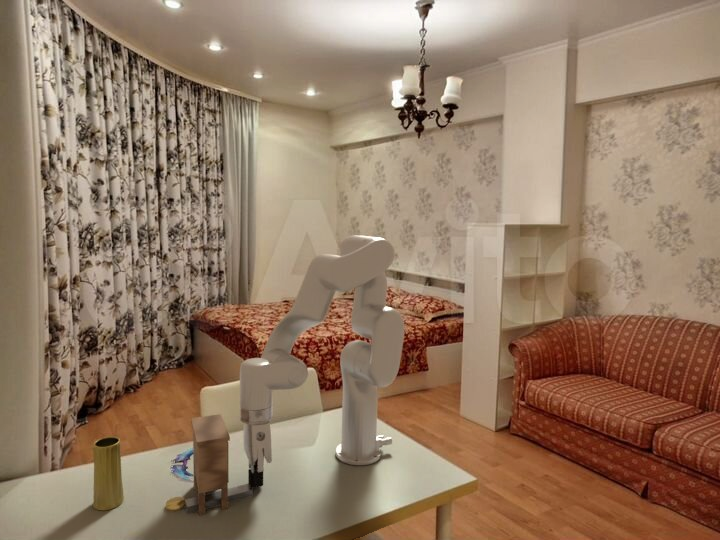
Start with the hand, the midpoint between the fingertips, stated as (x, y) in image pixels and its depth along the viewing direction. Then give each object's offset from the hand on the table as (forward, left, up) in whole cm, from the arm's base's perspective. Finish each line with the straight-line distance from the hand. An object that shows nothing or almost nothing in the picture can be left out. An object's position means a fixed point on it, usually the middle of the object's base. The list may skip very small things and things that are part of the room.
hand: (255, 485), depth 115 cm
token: (+18, +1, -1) cm, 18 cm away
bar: (+9, +2, -1) cm, 9 cm away
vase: (+32, -6, -1) cm, 32 cm away
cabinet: (+11, 0, -1) cm, 11 cm away
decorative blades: (+15, -18, -1) cm, 23 cm away
